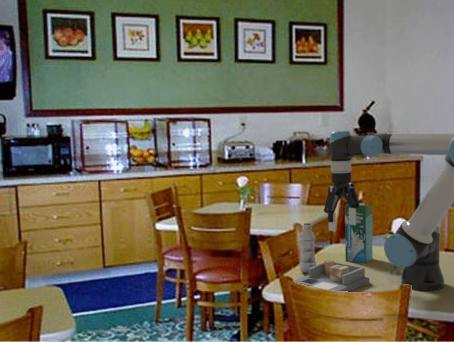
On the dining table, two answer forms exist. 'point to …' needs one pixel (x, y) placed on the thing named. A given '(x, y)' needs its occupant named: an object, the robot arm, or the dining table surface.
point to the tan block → (328, 266)
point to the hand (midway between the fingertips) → (342, 227)
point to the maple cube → (338, 272)
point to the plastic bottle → (307, 248)
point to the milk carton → (359, 235)
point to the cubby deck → (323, 281)
